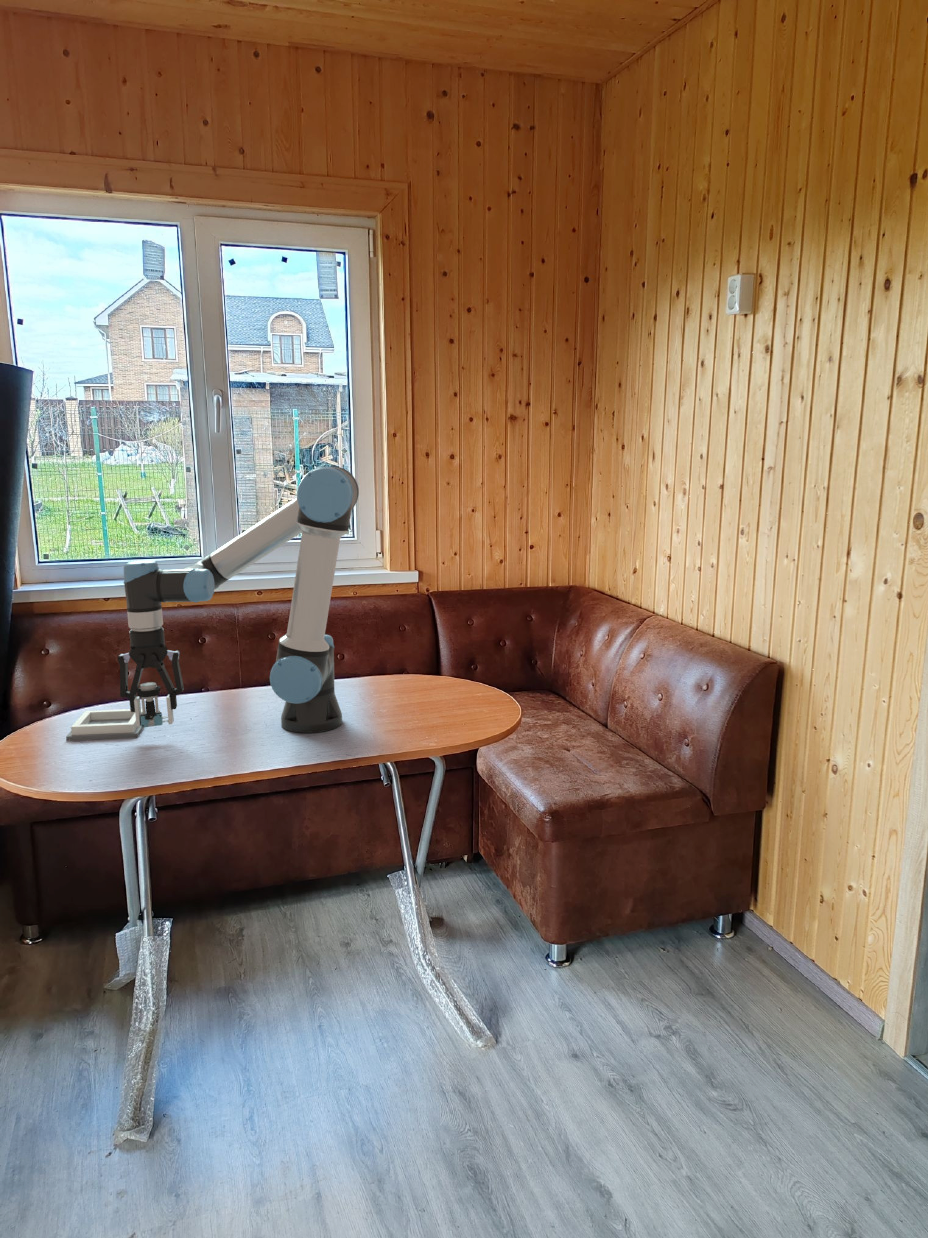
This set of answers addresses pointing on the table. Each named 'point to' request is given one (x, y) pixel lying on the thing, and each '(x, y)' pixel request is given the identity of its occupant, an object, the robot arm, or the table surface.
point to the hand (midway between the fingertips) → (155, 723)
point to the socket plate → (105, 725)
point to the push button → (150, 705)
